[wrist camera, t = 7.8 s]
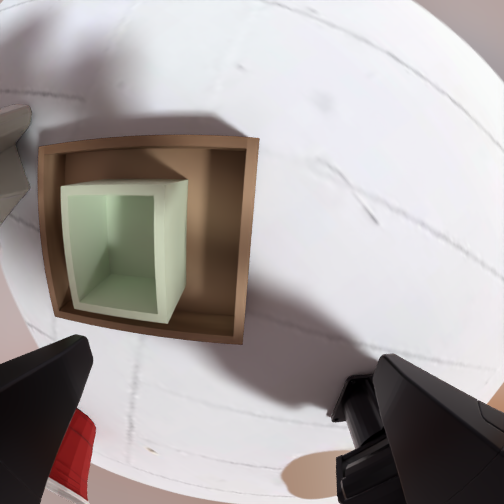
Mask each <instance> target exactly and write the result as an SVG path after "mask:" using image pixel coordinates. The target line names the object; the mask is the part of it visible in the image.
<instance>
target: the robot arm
mask: <svg viewBox="0 0 504 504" xmlns="http://www.w3.org/2000/svg"><path fill="white" fill-rule="evenodd" d="M92 365H93V356H92V352H91V349H90V345H89V342H88V339H87V338H86V337H85V336H81V335H77V334H75V335H72V336H70V337H67V338H65V339H62V340H60V341H57V342H55V343H52V344H50V345H47V346H45V347H42V348H40V349H37V350H35V351H32V352H30V353H27V354H25V355H22V356H20V357H17V358H15V359H12V360H9V361H7V362H5V363H2V364H0V504H40V502H41V498H42V495H43V492H44V489H45V486H46V483H47V480H48V477H49V474H50V472H51V469H52V466H53V463H54V461H55V458H56V455H57V453H58V450H59V448H60V445H61V443H62V440H63V438H64V436H65V433H66V431H67V428H68V426H69V424H70V422H71V419H72V417H73V415H74V413H75V410H76V408H77V406H78V403H79V401H80V398H81V396H82V393H83V390H84V387H85V384H86V381H87V378H88V376H89V373H90V370H91V368H92ZM351 381H352V382H351ZM331 419H332V422H343V421H346V422H347V425H348V428H349V431H350V434H351V437H352V440H353V443H354V446H355V450H353V451H351V452H349V453H347V454H345V455H341V456H338V457H336V475H337V476H336V477H337V497H338V502H339V503H340V504H504V413H503V412H501V411H498V410H496V409H495V408H492V407H491V406H489V405H487V404H485V403H483V402H481V401H479V400H478V401H477V399H475V398H474V397H472V396H470V395H468V394H466V393H464V392H462V391H461V390H459V389H457V388H455V387H453V386H451V385H450V384H448V383H446V382H444V381H442V380H440V379H439V378H437V377H435V376H433V375H431V374H430V373H428V372H426V371H424V370H422V369H421V368H419V367H417V366H415V365H413V364H412V363H410V362H408V361H406V360H404V359H403V358H401V357H399V356H397V355H396V354H383V355H382V356H381V357H380V359H379V361H378V364H377V367H376V369H375V372H374V374H369V375H358V376H351V377H349V378H348V379H347V380H346V383H345V385H344V388H343V390H342V393H341V395H340V398H339V400H338V403H337V405H336V407H335V410H334V412H333V414H332V417H331Z"/></svg>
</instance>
